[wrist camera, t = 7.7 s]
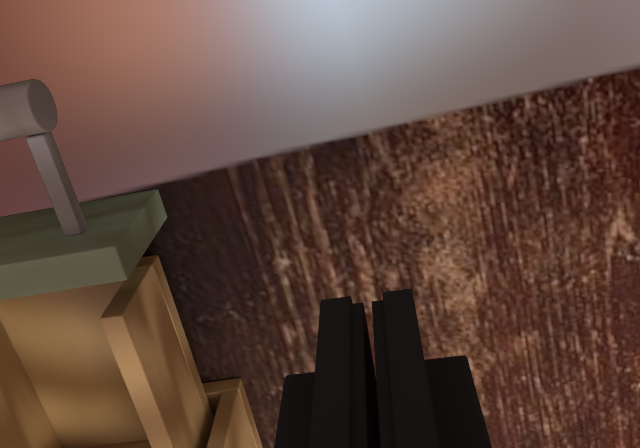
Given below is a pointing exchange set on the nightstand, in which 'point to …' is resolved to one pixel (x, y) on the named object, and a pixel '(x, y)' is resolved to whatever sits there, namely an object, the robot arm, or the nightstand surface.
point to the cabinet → (231, 416)
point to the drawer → (88, 313)
